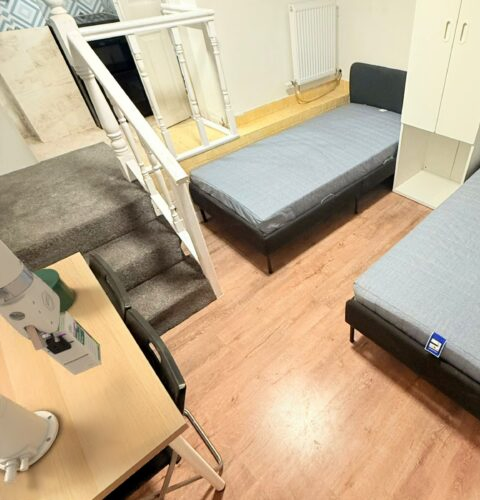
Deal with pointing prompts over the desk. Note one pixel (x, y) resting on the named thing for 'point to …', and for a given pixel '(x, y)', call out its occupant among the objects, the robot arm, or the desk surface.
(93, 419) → the desk surface
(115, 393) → the desk surface
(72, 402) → the desk surface
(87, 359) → the syrup box
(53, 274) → the tin lid
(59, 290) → the tin
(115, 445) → the desk surface
